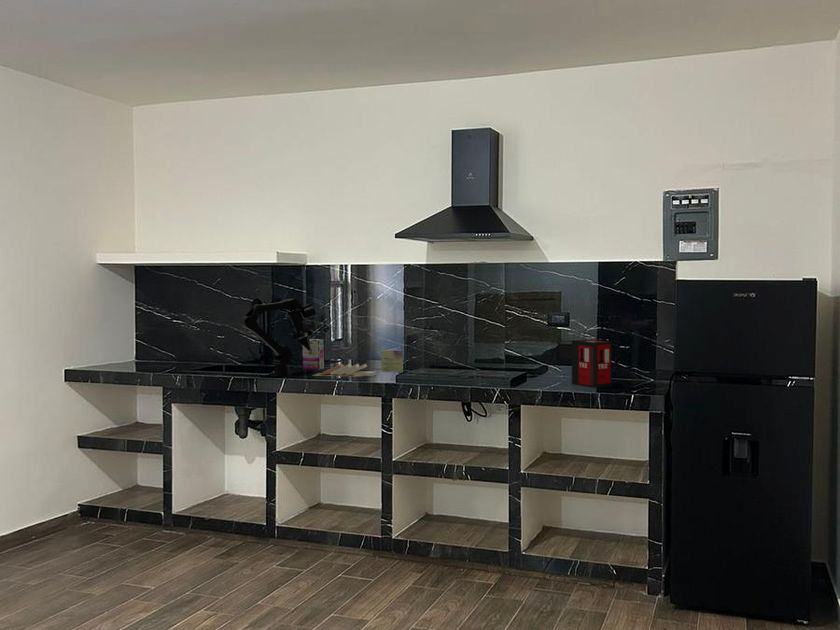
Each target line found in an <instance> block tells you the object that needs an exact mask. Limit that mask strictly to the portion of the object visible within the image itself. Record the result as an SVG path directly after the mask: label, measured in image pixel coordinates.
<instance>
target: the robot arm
mask: <svg viewBox="0 0 840 630" xmlns="http://www.w3.org/2000/svg"><path fill="white" fill-rule="evenodd" d="M278 310H288V311H286V313H285V316H284V317H285V318H288V317H289V319H290V321H291V323H292V328H293V329H294V331H295V333H292V335H291V338H292V340H293V341H296V340H297V342H299V343H300V344H301V345H303V346H304V347H305V348H306V349H307V350H308V351H309V350H311V348H310V339H311V337H312V335H315V332H314V331H315V330H318V323H317V322H316V321H311V322H310V323H307V322H306V321H304V320H307V319H309V318H312V317H316V315H317V314H316V309H315V308H314V306H313V305H312V303H308V304H305V305H304V306H303V305H302V304H301V303H300V301H299V300H298V299H297V298H287V299H284V300H281V301H276V302H271V303H270V302H269V303H263V304H254V305H253V306H252V307H251V308H250V310H248V312H246V314H245V315H244V316H241V318H240V320H239V324H240V327H242V328H244V329H245V330H247V331H249V332H251V333H253V334H254V335H255V336H257V337H258V339H260V340H261V341H262V342H263V343H264V344H265V345H266V346H268V347H269V348H270V349H271V350H272V351H273V353H274V355H275V357H273V359H272V362H273V365H274V375H273V377H275V378H276V377H277V378H279V377H280V378H281V377H284V378H285V377H288V376H290V373H291V372H290V366H289V365H290V363H291V360H292V359H293V356H294V355H293V352H292V349H290V348H289V347H288V345H286V344H282V343H281V344H279V342H277V341H276V340H275V339H274V338H273V337H271V336H270V335H269V334H268V333H267V332H266V331H265V330H264V329H263V328H261V326H260V324H259V322H258V321H257V320H258V319H259V317H260V315H261V313H264V312H270V311H271V312H272V311H278Z"/></svg>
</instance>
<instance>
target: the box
mask: <svg viewBox="0 0 840 630" xmlns="http://www.w3.org/2000/svg"><path fill="white" fill-rule="evenodd" d="M380 355H381V358H380V360H381V363H380V364H381V365H380V366H381V372H384V373H385V372H397V374H402V373H401V372H403V349H381V354H380Z"/></svg>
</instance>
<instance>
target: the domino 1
mask: <svg viewBox="0 0 840 630" xmlns="http://www.w3.org/2000/svg"><path fill="white" fill-rule="evenodd" d="M343 366H345V365H344V364H343V363H341V364H338V365H336V366H334V367H331V368H329V369H326V370H324V371H321V373H323V375H325V374H328V373H330V372H332V371H334V370H337V369H339V368H341V367H343Z"/></svg>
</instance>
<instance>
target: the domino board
mask: <svg viewBox="0 0 840 630" xmlns="http://www.w3.org/2000/svg"><path fill="white" fill-rule="evenodd" d="M311 376H312V377H313V376H314V377H355V376H354V373H352V374H349V375H347V374H346V373H344V374H342V375H339V373H336V374H333V375H331V373H328V374H325V375H323V373H322V372H318V373H316V374H312V375H311ZM356 377H358V378H359V377H360V378H361V377H363V376H356Z"/></svg>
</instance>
